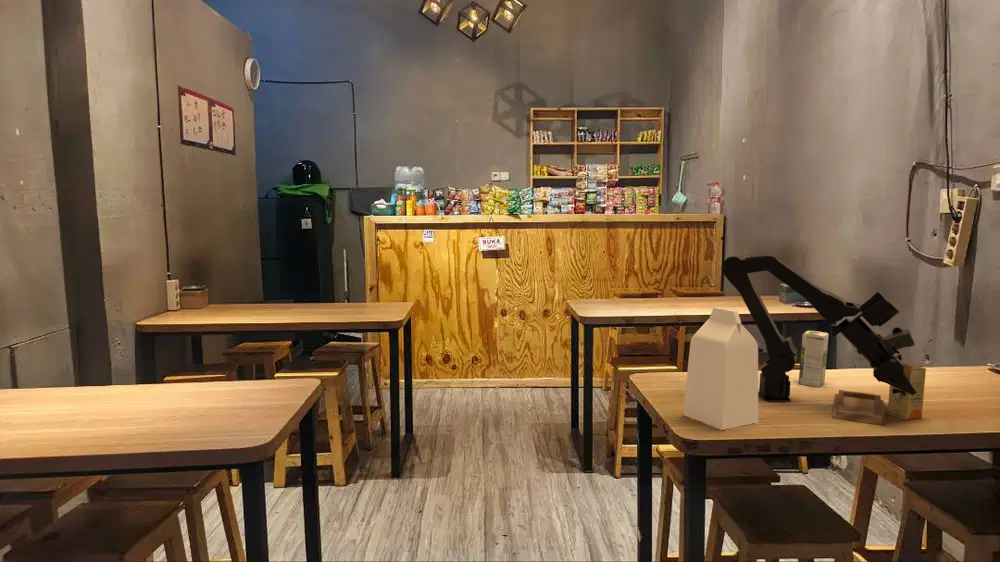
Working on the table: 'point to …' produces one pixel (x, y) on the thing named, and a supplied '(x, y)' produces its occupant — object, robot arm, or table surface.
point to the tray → (859, 407)
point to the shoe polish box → (908, 395)
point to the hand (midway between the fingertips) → (913, 389)
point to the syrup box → (813, 358)
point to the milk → (723, 372)
